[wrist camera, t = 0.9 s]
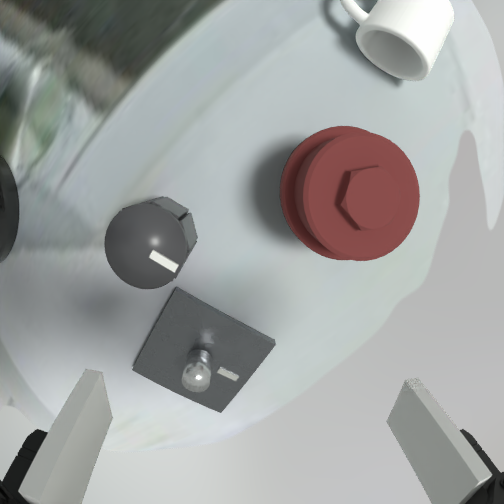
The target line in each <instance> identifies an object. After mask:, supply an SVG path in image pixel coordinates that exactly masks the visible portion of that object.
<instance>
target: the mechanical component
mask: <svg viewBox="0 0 504 504" xmlns="http://www.w3.org/2000/svg"><path fill="white" fill-rule="evenodd" d="M419 198H420V194H419V185H418V180H417V176H416V173H415V170H414V168H413V166H412V164H411V162H410V160H409V159H408V157H407V156H406V155H405V153H404V152H403V151H402V150H401V149H400V148H399V147H398V146H397V145H396V144H394V143H393V142H391V141H390V140H388V139H386V138H384V137H382V136H380V135H377V134H374V133H370V132H368V131H366V130H363V129H360V128H357V127H351V126H337V127H331V128H327V129H324V130H321V131H319V132H317V133H315V134H313V135H311V136H310V137H308V138H306V139H305V140H304V141H303V142H302V143H300V144H299V145H298V146H297V147H296V149H295V150H294V151H293V152H292V154H291V155H290V157H289V158H288V160H287V162H286V165H285V167H284V169H283V173H282V176H281V182H280V201H281V207H282V210H283V214H284V217H285V219H286V221H287V223H288V225H289V227H290V228H291V230H292V231H293V233H294V234H295V235H296V236H297V237H298V238H299V239H300V240H301V241H302V242H303V243H304V244H305V245H306V246H307V247H308V248H310V249H311V250H312V251H314V252H316V253H318V254H320V255H322V256H325V257H328V258H331V259H336V260H356V261H367V260H373V259H377V258H379V257H382V256H384V255H386V254H388V253H390V252H392V251H393V250H394V249H395V248H397V247H398V246H399V245H400V244H401V243H402V242H403V241H404V240H405V238H406V237H407V235H408V234H409V233H410V231H411V229H412V227H413V225H414V223H415V220H416V217H417V213H418V208H419Z"/></svg>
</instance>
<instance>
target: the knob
mask: <svg viewBox="0 0 504 504" xmlns="http://www.w3.org/2000/svg"><path fill="white" fill-rule="evenodd" d="M187 212H188V209H187V208H185V207H183V206H182V205H180V204H178V203H177V202H175V201H173V200H172V199H170V198H168V197H165V198H164V197H159V198H156V199H152V200H149V201H145V202H142V203H139V204H136V205H132V206H129V207H126V208H123V209H122V211H119V213H118V214H117V215H116V216H115V217H114V218H113V220H112V221H111V223H110V224H109V226H108V229H107V231H106V236H105V253H106V257H107V260H108V262H109V264H110V266H111V268H112V269H113V271H114V272H115V273H116V275H117V276H118V277H119V278H120V279H122V280H123V281H124V282H126V283H127V284H129V285H131V286H134V287H137V288H141V289H154V288H159V287H162V286H164V285H166V284H167V283H169V282H170V281H173V279H174V278H175V279H176V277H177V275H178V273H179V272H180V270H181V268H182V267H183V265H184V263H185V261H186V260H187V258H188V256H189V254H190V253H191V251H192V249H193V248H194V246H195V244H196V242H197V241H196V239H197V238H198V237H197V233H196V230H195V226H194V222H193V218H192V214H191V213H188V214H187Z"/></svg>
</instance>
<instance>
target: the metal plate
mask: <svg viewBox="0 0 504 504" xmlns="http://www.w3.org/2000/svg"><path fill="white" fill-rule="evenodd" d="M275 345H276V343H275V340H274V339H272V338H270V337H268V336H266V335H264V334H262V333H260V332H258V331H256V330H254V329H253V328H251V327H249V326H247V325H245V324H243V323H241V322H239V321H237V320H235V319H234V318H232V317H230V316H228V315H226V314H224V313H222V312H221V311H219V310H217V309H215V308H213V307H212V306H210V305H208V304H206V303H204V302H203V301H201V300H199V299H197V298H195V297H194V296H192V295H190V294H188V293H187V292H185V291H183V290H181V289H180V288H178V287H176V289H175V291H174V293H173V294H172V296H171V298H170V300H169V302H168V303H167V305H166V307H165V309H164V311H163V312H162V314H161V316H160V318H159V320H158V322H157V323H156V325H155V327H154V329H153V331H152V333H151V334H150V336H149V338H148V340H147V342H146V344H145V346H144V348H143V350H142V351H141V353H140V355H139V357H138V359H137V361H136V363H135V365H134V367H133V369H132V370H133V371H135V372H137V373H139V374H140V375H142V376H144V377H146V378H148V379H150V380H152V381H154V382H155V383H157V384H159V385H161V386H163V387H165V388H167V389H169V390H171V391H173V392H175V393H177V394H180V395H182V396H184V397H186V398H188V399H190V400H192V401H195V402H197V403H199V404H201V405H204V406H206V407H208V408H210V409H213V410H215V411H218V412H220V413H221V412H222V411H223V410H224V409H225V408H226V406H227V405H228V404H229V403H230V402H231V400H232V399H233V398H234V397H235V395H236V394H237V393H238V392H239V391H240V389H241V388H242V387H243V386H244V384H245V383H246V382H247V381H248V379H249V378H250V377H251V376H252V374H253V373H254V372H255V371H256V369H257V368H258V367H259V366H260V364H261V363H262V362H263V360H264V359H265V358H266V357H267V355H268V354H269V353H270V351H271V350H272V349H273V347H274V346H275Z"/></svg>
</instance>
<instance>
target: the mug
mask: <svg viewBox="0 0 504 504" xmlns="http://www.w3.org/2000/svg"><path fill="white" fill-rule="evenodd" d="M340 1H341V4H342V6H343V8H344V9H345V11H346V12H347V13H348V14H349V16H351V17H352V18H353V19H354V20H355V21H356V22H357V23H359V25H360V27H359V28H358V30H357V32H356V42H357V45H358V47H359V49H360V50H361V52H362V53H363V54H364V55H365V56H366V57H367V59H369V60H370V61H371V62H372V63H373V64H374V65H376V66H377V67H378V68H380V69H381V70H383V71H385V72H386V73H388V74H390V75H392V76H394V77H397V78H400V79H403V80H408V81H420V80H423V79H425V78H426V77H427V76H428V75H429V73H430V71H431V69H432V67H433V65H434V62H435V60H436V58H437V56H438V54H439V52H440V50H441V48H442V46H443V43H444V41H445V39H446V37H447V35H448V33H449V30H450V28H451V26H452V24H453V21H454V11H453V8H452V5H451V3H450V2H449V0H378V1H377V3H376V4H375V6H374V7H373V8H372V10H371V11H370V13H369V14H367V13H366V12H365V11H363V10H362V9H361V8H360V7H359V6H358V5H357V4H356V3H355V2H354V0H340Z"/></svg>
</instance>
